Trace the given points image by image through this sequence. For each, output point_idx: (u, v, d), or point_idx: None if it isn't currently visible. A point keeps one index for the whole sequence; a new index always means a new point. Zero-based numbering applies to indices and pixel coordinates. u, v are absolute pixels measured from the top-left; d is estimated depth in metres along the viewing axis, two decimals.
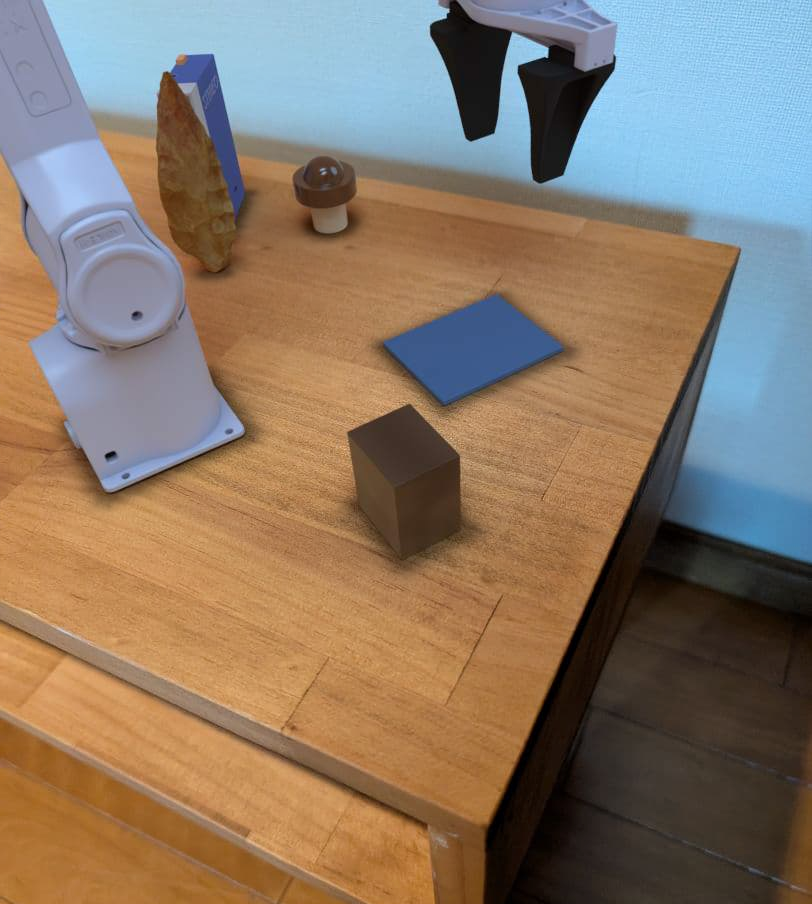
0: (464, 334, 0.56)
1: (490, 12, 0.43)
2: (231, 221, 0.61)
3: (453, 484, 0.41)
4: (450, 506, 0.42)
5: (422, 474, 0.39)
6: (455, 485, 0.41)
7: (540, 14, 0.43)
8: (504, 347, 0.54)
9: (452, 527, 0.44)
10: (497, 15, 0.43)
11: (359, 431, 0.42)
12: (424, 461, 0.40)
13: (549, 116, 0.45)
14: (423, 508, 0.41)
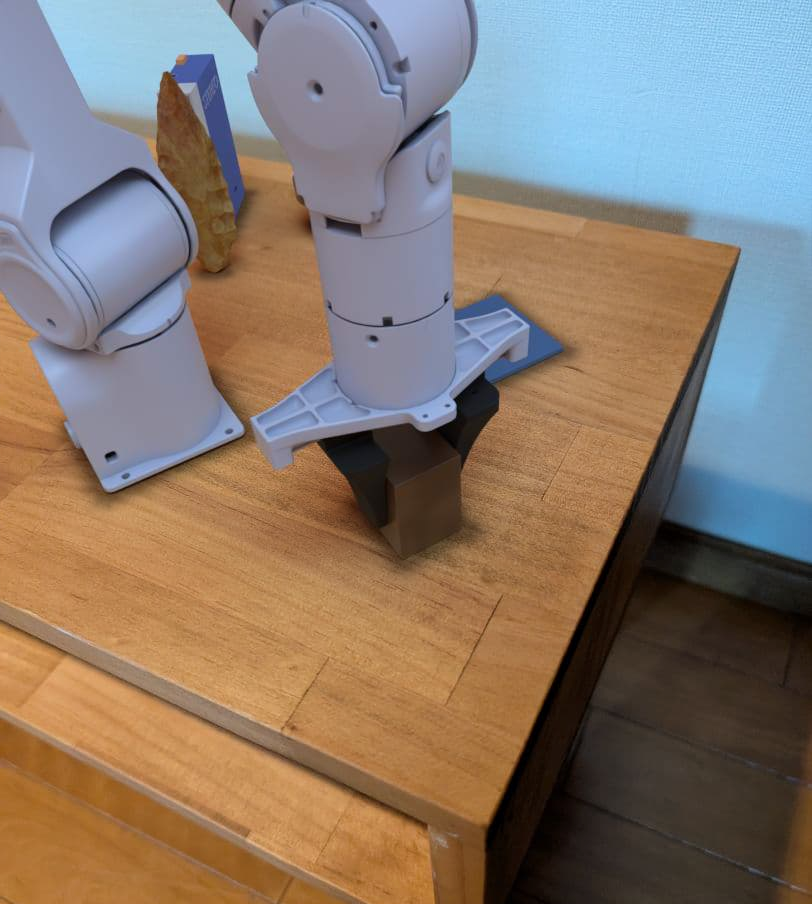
0: None
1: None
2: (231, 221, 0.61)
3: (454, 484, 0.41)
4: (450, 506, 0.43)
5: (422, 473, 0.39)
6: (455, 485, 0.41)
7: (334, 387, 0.37)
8: None
9: (453, 527, 0.44)
10: None
11: None
12: (425, 461, 0.40)
13: None
14: (423, 508, 0.41)
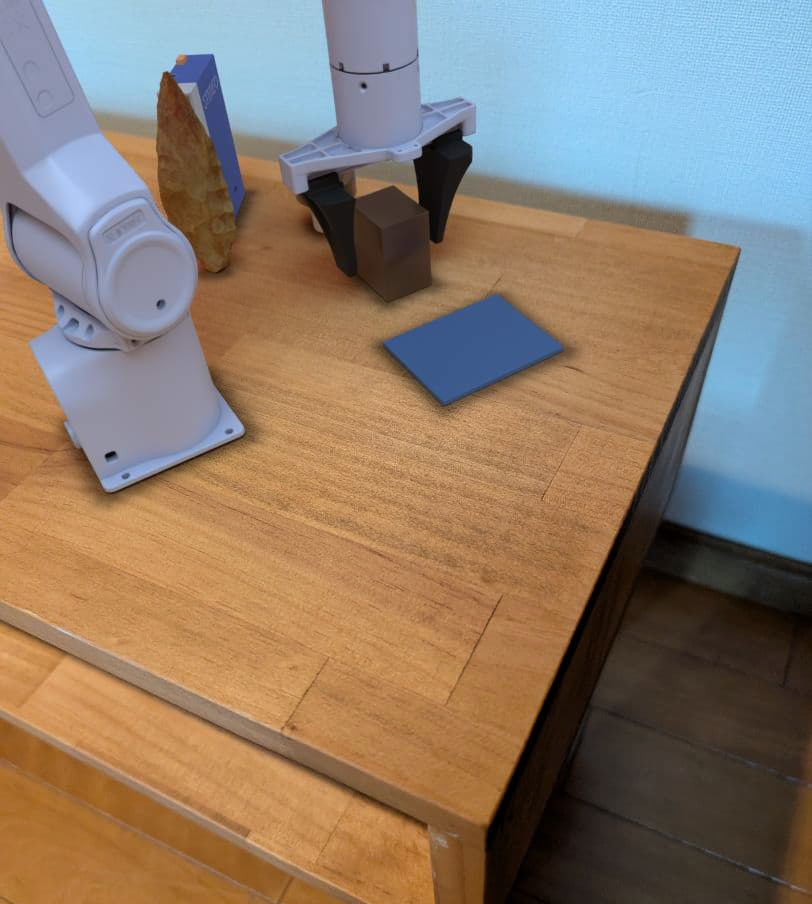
0: (464, 334, 0.56)
1: None
2: (231, 221, 0.61)
3: (424, 238, 0.57)
4: (422, 259, 0.58)
5: (401, 221, 0.55)
6: (426, 239, 0.57)
7: (336, 140, 0.52)
8: (504, 347, 0.54)
9: (425, 281, 0.60)
10: None
11: (356, 201, 0.57)
12: (403, 215, 0.56)
13: (312, 210, 0.56)
14: (402, 255, 0.57)
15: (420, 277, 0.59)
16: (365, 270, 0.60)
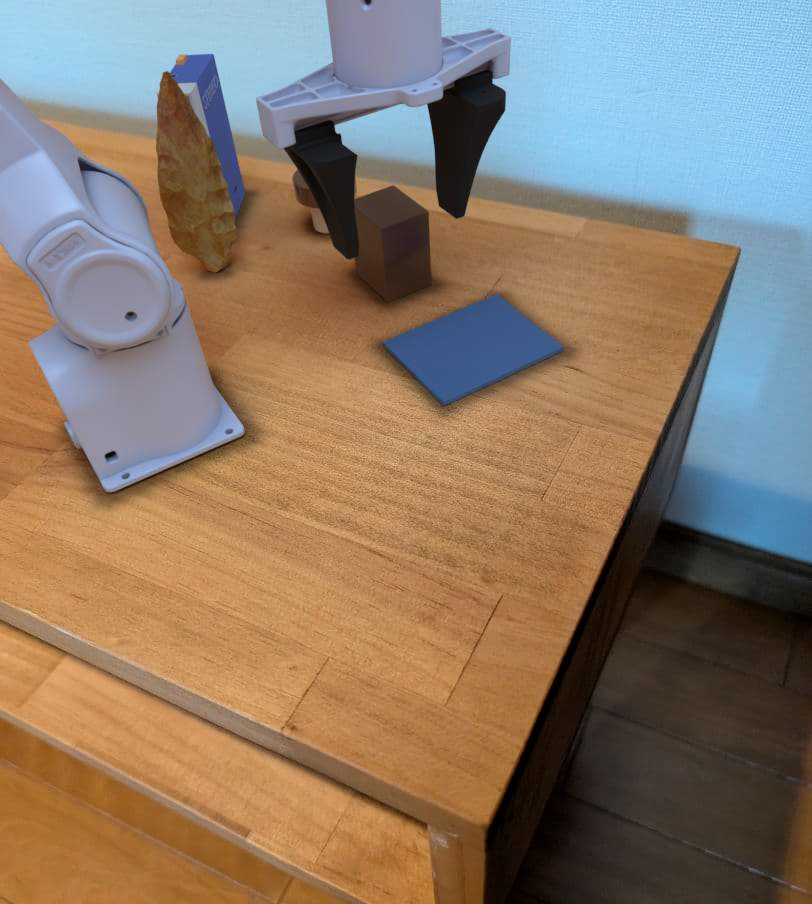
0: (464, 334, 0.56)
1: None
2: (231, 221, 0.61)
3: (424, 238, 0.57)
4: (422, 259, 0.58)
5: (401, 221, 0.55)
6: (426, 239, 0.57)
7: (332, 80, 0.41)
8: (504, 347, 0.54)
9: (425, 281, 0.60)
10: None
11: (356, 201, 0.57)
12: (403, 215, 0.56)
13: (301, 173, 0.44)
14: (402, 255, 0.57)
15: (420, 277, 0.59)
16: (365, 270, 0.60)
